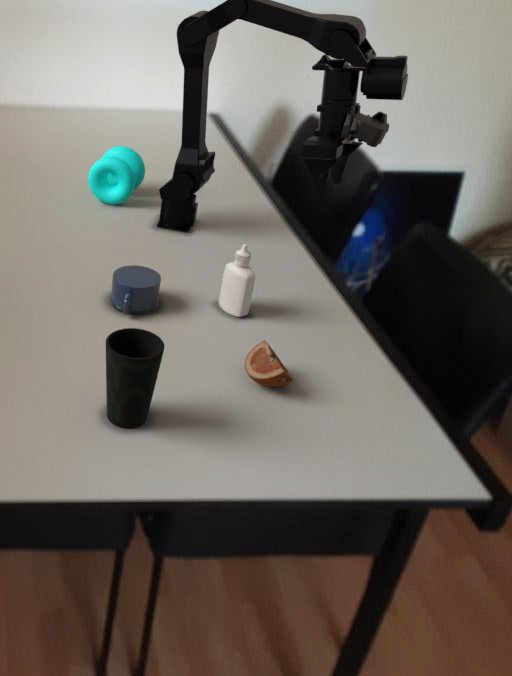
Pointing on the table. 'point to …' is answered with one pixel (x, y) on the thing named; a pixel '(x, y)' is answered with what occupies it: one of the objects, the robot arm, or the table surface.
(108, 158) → the donuts
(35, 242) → the table surface
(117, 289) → the blue mug
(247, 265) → the eye dropper bottle
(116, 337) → the cup
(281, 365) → the fruit slice
